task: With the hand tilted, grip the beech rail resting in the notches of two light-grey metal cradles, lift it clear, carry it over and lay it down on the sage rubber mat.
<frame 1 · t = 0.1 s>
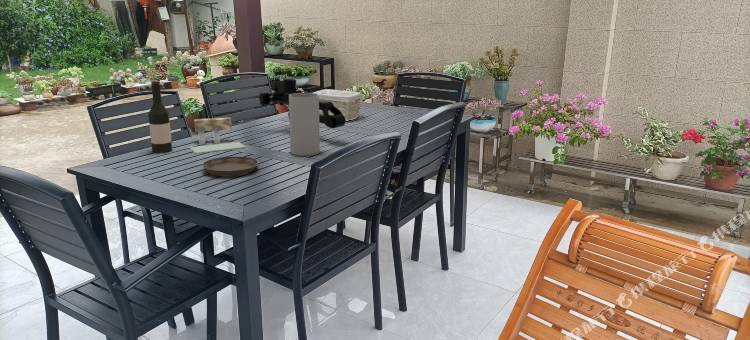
hand: (265, 95, 282), 17 cm above the table, tool horizontal, fingers open, 9 cm apart
cylinder vase: (305, 153, 241), on the table
wine bottle: (162, 151, 241), on the table
plant saucer: (231, 171, 215), on the table
storage basket: (337, 118, 312), on the table
standard front: (202, 142, 256), on the table
beech rail: (213, 129, 256), point 5 cm above the table
mat: (218, 148, 246), on the table
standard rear: (216, 141, 258), on the table
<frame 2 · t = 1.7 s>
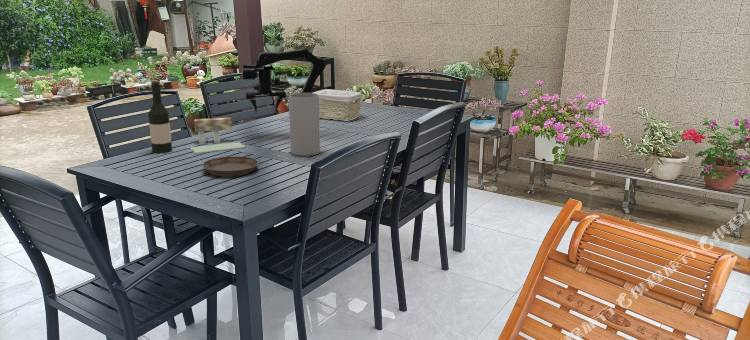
hand: (265, 112, 264), 12 cm above the table, tool pointing down, fingers open, 9 cm apart
nothing on the table moved.
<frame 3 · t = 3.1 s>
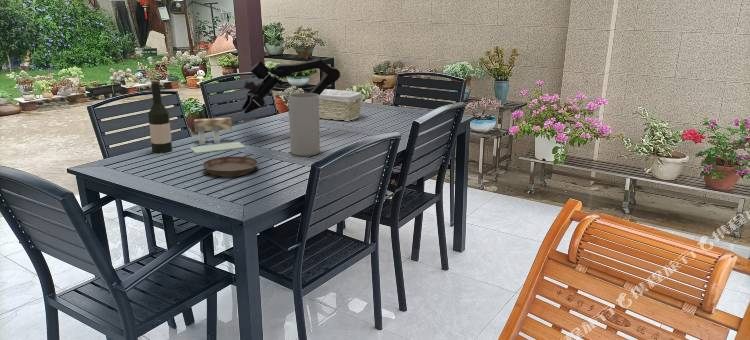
hand: (243, 111, 259), 14 cm above the table, tool tilted 45°, fingers open, 9 cm apart
beech rail: (213, 129, 256), point 5 cm above the table, touching standard front, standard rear
everything else where it was.
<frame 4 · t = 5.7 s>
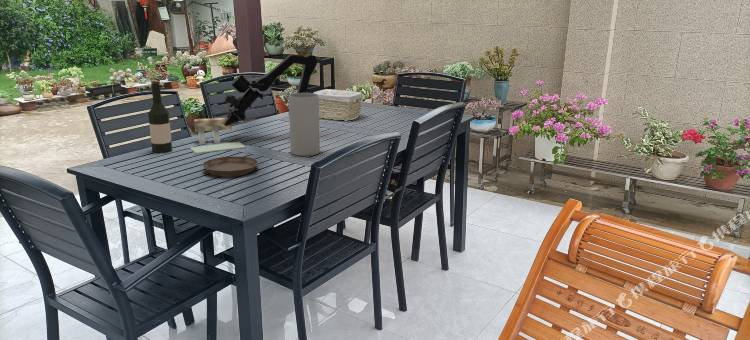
hand: (224, 124, 257), 8 cm above the table, tool tilted 45°, fingers closed on beech rail, 3 cm apart
beech rail: (213, 129, 256), point 5 cm above the table, touching gripper, standard front, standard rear
everything else where it was.
when the fingers open (13 cm above the table, at t = 7.2 s): beech rail drops 6 cm and tips over, resting on mat.
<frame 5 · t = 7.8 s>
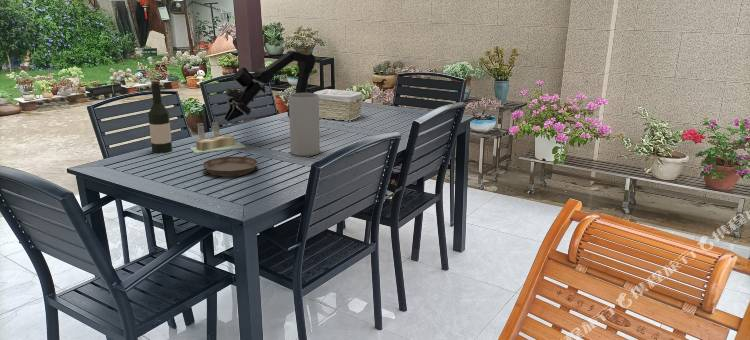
hand: (226, 120, 246), 12 cm above the table, tool tilted 45°, fingers open, 3 cm apart
beech rail: (218, 143, 245), point 2 cm above the table, tilted 90°, touching mat
everything else where it was.
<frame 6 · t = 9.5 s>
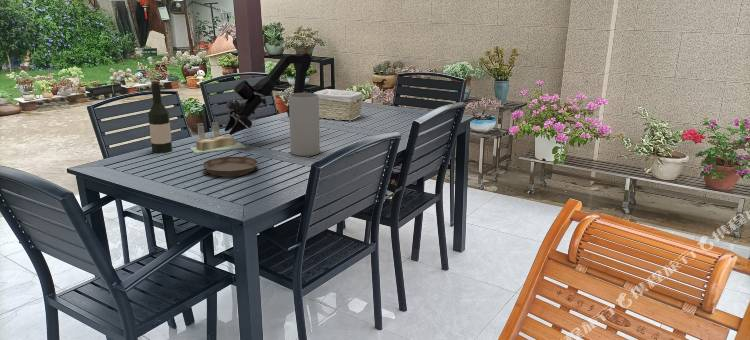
hand: (227, 132, 247), 7 cm above the table, tool tilted 45°, fingers open, 7 cm apart
nothing on the table moved.
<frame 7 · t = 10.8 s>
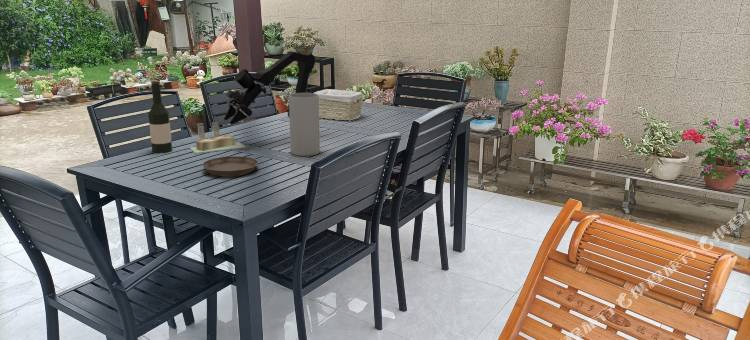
hand: (227, 121, 245), 11 cm above the table, tool tilted 45°, fingers open, 9 cm apart
nothing on the table moved.
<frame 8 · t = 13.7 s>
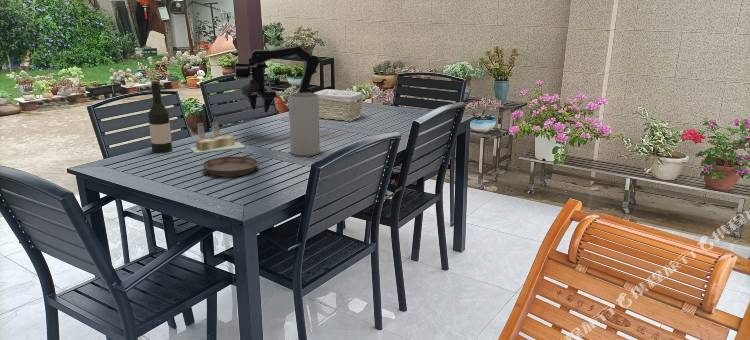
hand: (259, 111, 262), 13 cm above the table, tool pointing down, fingers open, 9 cm apart
nothing on the table moved.
at the end: beech rail inside the target area on the mat (1.1 cm from its centre), point 2.2 cm above the mat's base; beech rail point 2.2 cm above the table; beech rail touching mat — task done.
